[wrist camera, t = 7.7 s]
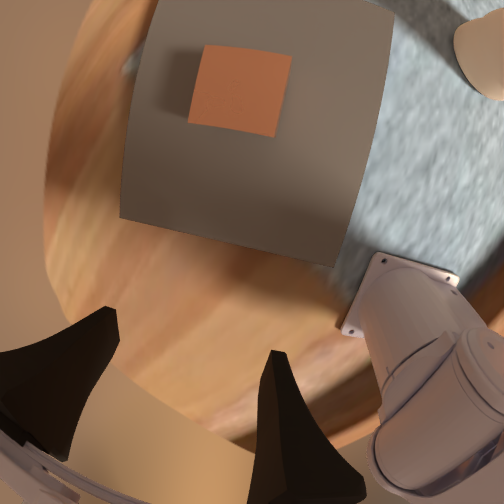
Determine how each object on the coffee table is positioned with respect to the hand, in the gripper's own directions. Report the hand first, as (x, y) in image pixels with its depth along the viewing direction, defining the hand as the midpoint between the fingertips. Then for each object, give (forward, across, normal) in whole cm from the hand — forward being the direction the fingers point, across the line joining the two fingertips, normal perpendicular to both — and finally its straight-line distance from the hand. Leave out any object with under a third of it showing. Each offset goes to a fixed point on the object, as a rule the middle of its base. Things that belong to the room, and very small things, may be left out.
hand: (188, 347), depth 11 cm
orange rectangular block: (+10, 0, -11) cm, 15 cm away
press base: (+10, 0, -11) cm, 15 cm away
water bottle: (+10, -17, -22) cm, 29 cm away
